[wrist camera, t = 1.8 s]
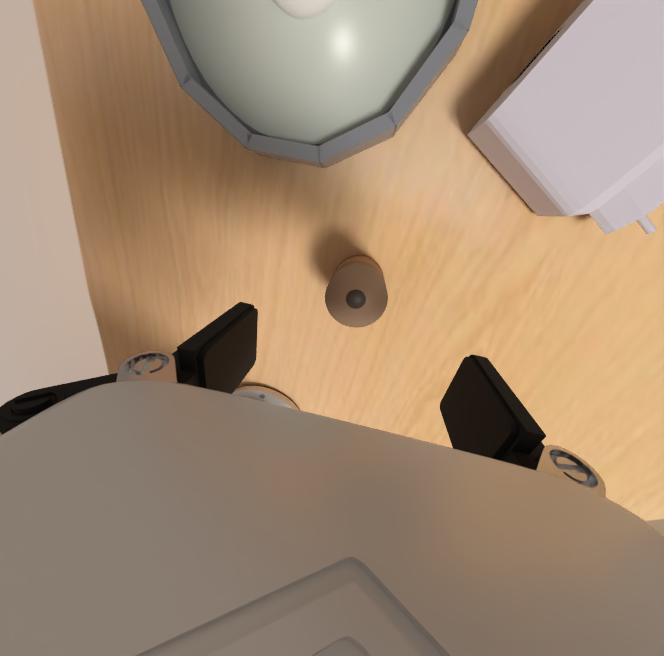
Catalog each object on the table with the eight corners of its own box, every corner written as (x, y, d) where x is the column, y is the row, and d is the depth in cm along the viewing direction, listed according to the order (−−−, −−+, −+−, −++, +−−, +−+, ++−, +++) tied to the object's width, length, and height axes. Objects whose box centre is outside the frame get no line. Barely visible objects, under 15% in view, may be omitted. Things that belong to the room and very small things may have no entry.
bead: (376, 307, 26) (378, 333, 20) (330, 297, 26) (320, 320, 21) (389, 261, 23) (395, 275, 18) (339, 250, 24) (330, 261, 18)
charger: (574, 264, 22) (462, 137, 19) (703, 168, 18) (587, -8, 15) (624, 277, 17) (490, 115, 15) (808, 155, 14) (673, -93, 11)
